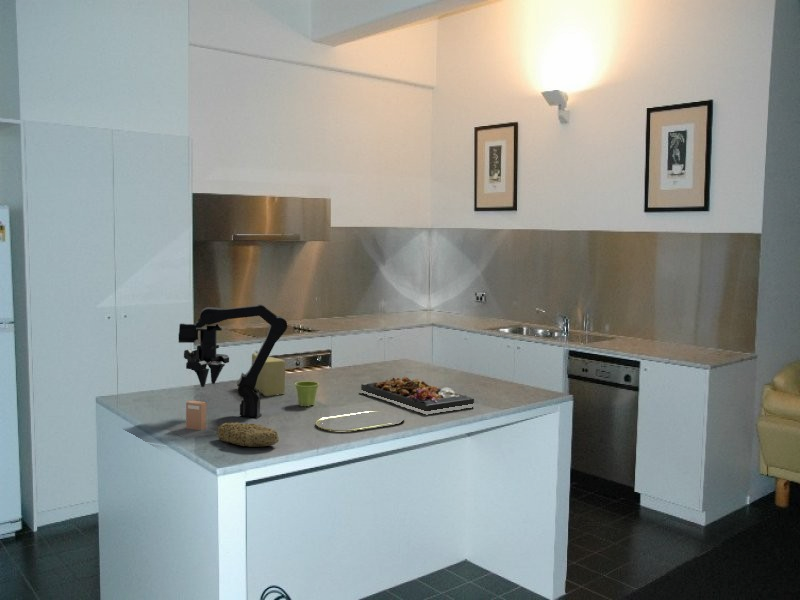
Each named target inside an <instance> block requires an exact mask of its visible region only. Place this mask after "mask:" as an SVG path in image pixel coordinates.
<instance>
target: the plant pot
mask: <svg viewBox="0 0 800 600" xmlns="http://www.w3.org/2000/svg"><path fill="white" fill-rule="evenodd" d="M319 384H320V383H319V382H316V381H307V380H305V381H298V382H295V383H294V386H295V387H296V388H295V389H296V392H297V400H298V405H299V406H300V405H304V406H303V407H306V406H308V405H313V404H314V405H315V404H316V395H317V390H318V386H319ZM314 405H313V406H314ZM308 407H309V406H308Z"/></svg>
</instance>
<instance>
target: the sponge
mask: <svg viewBox="0 0 800 600" xmlns="http://www.w3.org/2000/svg"><path fill="white" fill-rule="evenodd" d="M216 431H217V434H216V436H217V438H218V439H219V440H220V441H222V442H226V443H230V444H233V445H237V446H240V447H241V446H242V447H250V448H255V447H256V448H257V447H258V448H262V447H263V448H264V447H268V446H273V445H275V444H277V443H278V442H279V441H280V439H279V434H278V432H277V431H276V430H275V429H272V428H271V427H266V426H263V425H260V424H256V423H245V422H244V423H239V422H236V421H234V422H233V421H232V422H225V423H222V424H221V425H220V426H218V427H217V430H216Z"/></svg>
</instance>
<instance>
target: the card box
mask: <svg viewBox="0 0 800 600" xmlns="http://www.w3.org/2000/svg"><path fill="white" fill-rule="evenodd" d="M185 405H186V406H185V409H186V410H185V425H186V428H188V429H195V430H203V429H206V427H207V402H205V401H198V400H189V401H186V403H185Z"/></svg>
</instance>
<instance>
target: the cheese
mask: <svg viewBox="0 0 800 600" xmlns="http://www.w3.org/2000/svg"><path fill="white" fill-rule="evenodd" d="M257 354H258V353H252V354H251V365H252V364H253V362H254V360H255V358H256V356H257ZM255 388H256V389H255V390H257V391H258V390H259V391H258V392H259V393H261V394H262V395H263V396H264V397H270V396H269V395H275V396H278V395H277V394H283V393H286V392H285V391H286V360H284V359H281V358H276V357H274V356H273V357H272V356H268V358H267V360H266V362H265V364H264V366H263V368H262V370H261V371H260V373H259V375H258V378H257V382H256V386H255ZM283 395H284V394H283Z"/></svg>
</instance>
